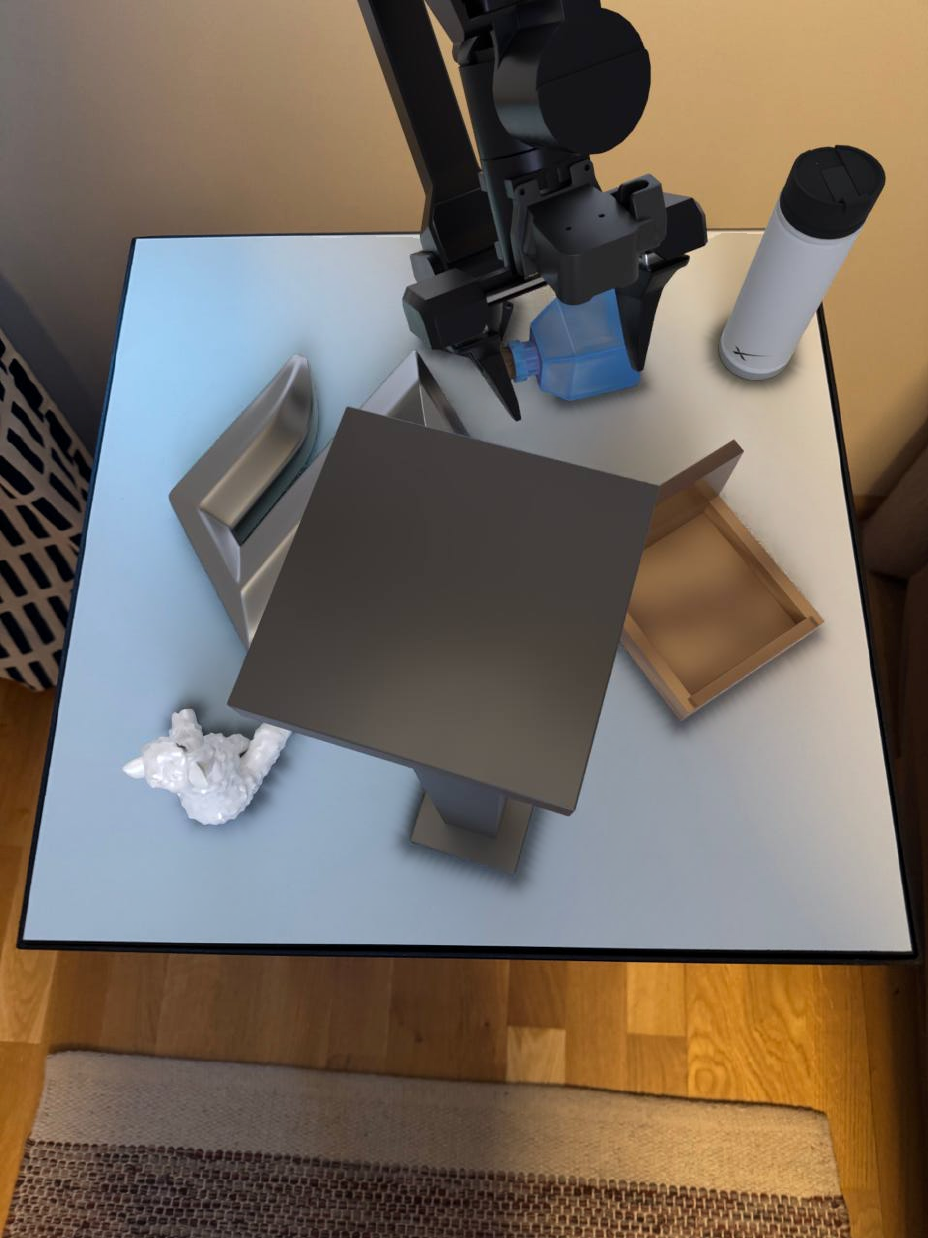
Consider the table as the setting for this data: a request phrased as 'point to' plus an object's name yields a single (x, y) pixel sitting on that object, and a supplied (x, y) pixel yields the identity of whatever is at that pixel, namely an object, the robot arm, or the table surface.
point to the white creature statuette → (209, 766)
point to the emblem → (278, 479)
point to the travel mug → (799, 256)
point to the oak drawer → (708, 593)
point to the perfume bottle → (574, 350)
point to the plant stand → (452, 622)
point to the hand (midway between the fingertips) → (577, 394)
